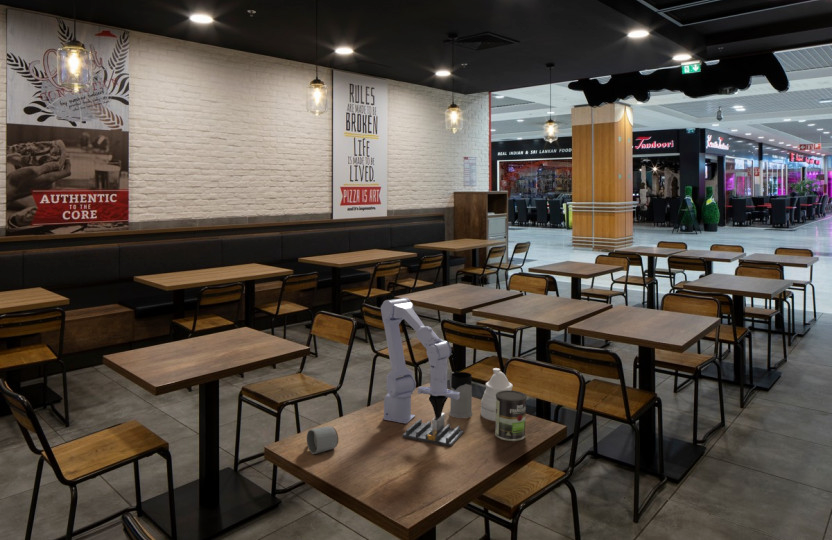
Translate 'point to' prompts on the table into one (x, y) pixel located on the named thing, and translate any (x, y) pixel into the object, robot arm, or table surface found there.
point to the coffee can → (510, 415)
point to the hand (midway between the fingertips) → (438, 416)
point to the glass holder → (461, 394)
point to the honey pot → (493, 394)
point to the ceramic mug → (322, 439)
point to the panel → (438, 424)
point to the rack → (425, 433)
